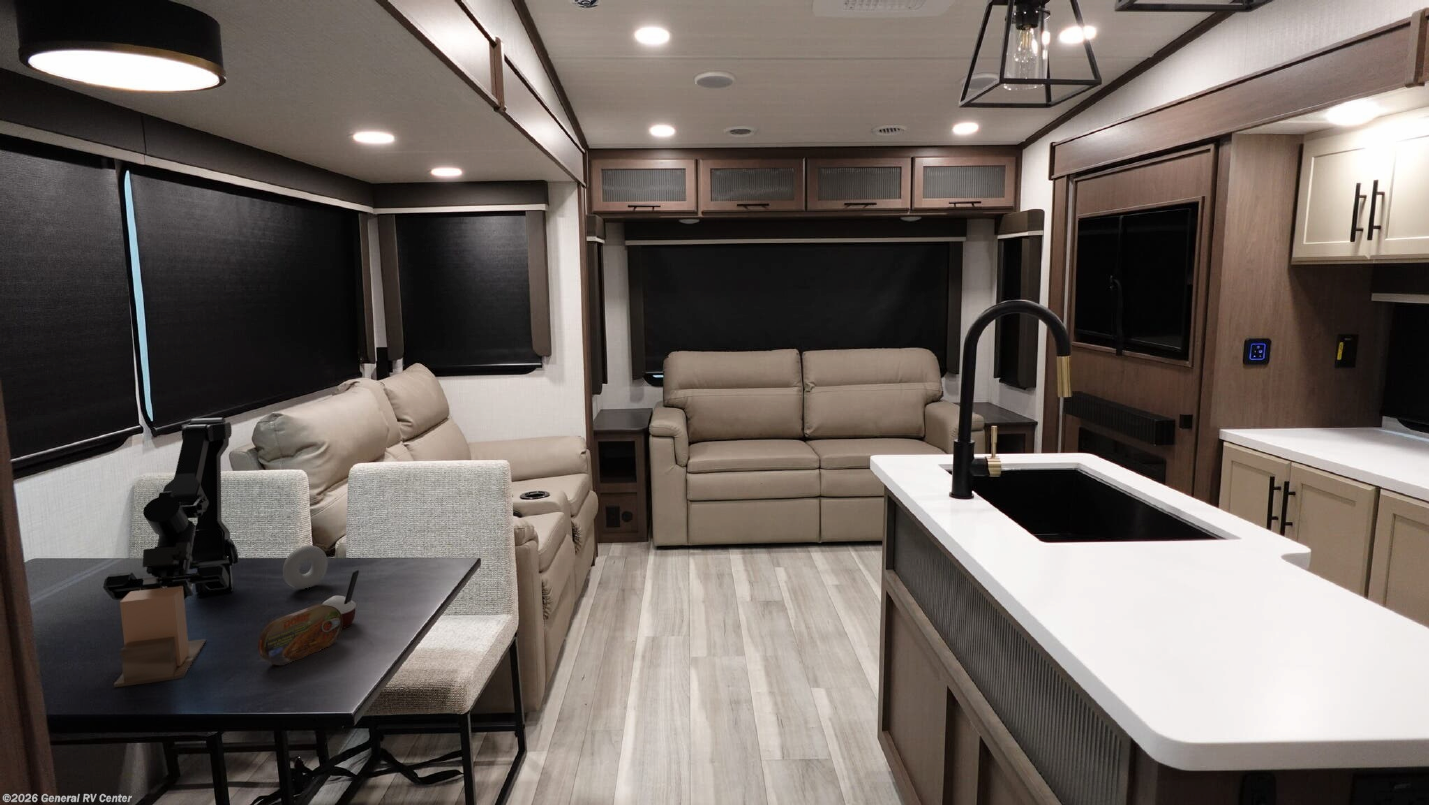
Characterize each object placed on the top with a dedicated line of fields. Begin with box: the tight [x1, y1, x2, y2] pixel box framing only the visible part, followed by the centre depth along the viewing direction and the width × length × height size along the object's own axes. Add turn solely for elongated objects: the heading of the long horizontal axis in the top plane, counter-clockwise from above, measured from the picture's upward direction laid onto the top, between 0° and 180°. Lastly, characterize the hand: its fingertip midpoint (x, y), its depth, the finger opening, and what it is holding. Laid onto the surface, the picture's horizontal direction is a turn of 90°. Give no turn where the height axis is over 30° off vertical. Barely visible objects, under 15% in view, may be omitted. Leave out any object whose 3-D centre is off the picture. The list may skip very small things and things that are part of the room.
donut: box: [282, 544, 329, 590], centre depth 176 cm, size 10×4×10 cm, turn 147°
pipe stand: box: [113, 637, 207, 688], centre depth 140 cm, size 15×10×7 cm, turn 20°
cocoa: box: [321, 569, 360, 629], centre depth 156 cm, size 10×6×12 cm, turn 54°
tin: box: [258, 603, 343, 666], centre depth 144 cm, size 15×3×8 cm, turn 148°
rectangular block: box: [119, 586, 189, 666], centre depth 138 cm, size 5×8×13 cm, turn 110°
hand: (161, 624), depth 141 cm, fingers closed, pressing on rectangular block
